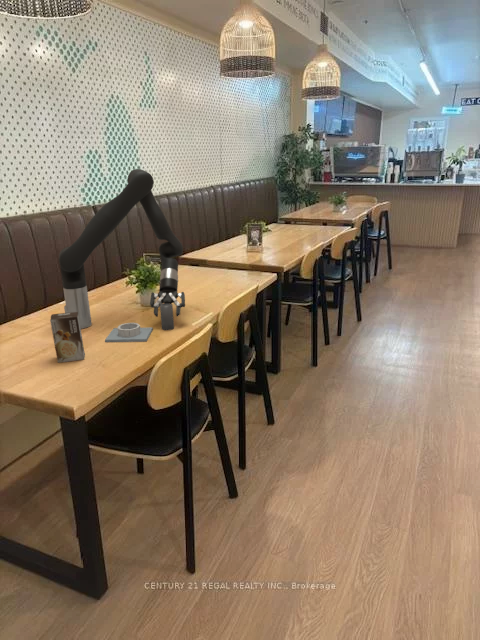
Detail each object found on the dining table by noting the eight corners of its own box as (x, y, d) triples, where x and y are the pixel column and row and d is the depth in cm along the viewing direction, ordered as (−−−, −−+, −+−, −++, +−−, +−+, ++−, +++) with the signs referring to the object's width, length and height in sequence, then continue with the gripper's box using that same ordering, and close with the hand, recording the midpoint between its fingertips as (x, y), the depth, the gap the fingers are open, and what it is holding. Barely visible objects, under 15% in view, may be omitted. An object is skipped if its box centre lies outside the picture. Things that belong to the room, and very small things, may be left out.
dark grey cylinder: (160, 330, 189) (159, 307, 186) (162, 326, 194) (161, 303, 190) (173, 330, 189) (171, 306, 186) (174, 326, 194) (173, 303, 190)
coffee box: (85, 353, 168) (79, 311, 163) (84, 359, 162) (78, 316, 157) (58, 356, 166) (51, 313, 161) (56, 363, 160) (49, 319, 155)
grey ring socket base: (105, 342, 178) (103, 332, 176) (114, 330, 190) (112, 321, 189) (146, 341, 178) (145, 331, 176) (152, 329, 190) (151, 320, 189)
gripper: (150, 277, 193) (147, 312, 186) (184, 276, 193) (183, 311, 186) (153, 286, 200) (151, 320, 192) (186, 285, 199) (185, 319, 192)
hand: (166, 315), depth 189 cm, fingers open, 8 cm apart
